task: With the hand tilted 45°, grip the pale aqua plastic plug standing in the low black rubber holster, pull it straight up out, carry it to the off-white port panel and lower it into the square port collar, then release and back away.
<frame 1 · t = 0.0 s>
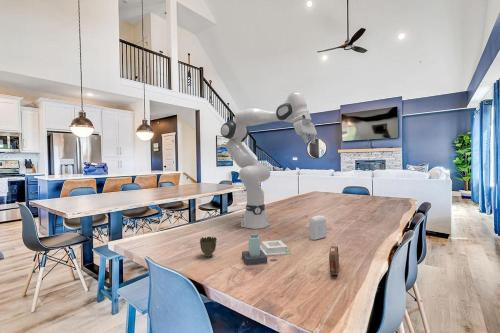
hand: (310, 142, 142), 52 cm above the table, tool tilted 20°, fingers open, 8 cm apart
plug: (254, 247, 111), in the holster
holster: (254, 260, 112), on the table
photo printer: (317, 238, 141), on the table
port: (274, 250, 123), on the table
cup: (208, 256, 116), on the table
tin: (334, 270, 101), on the table
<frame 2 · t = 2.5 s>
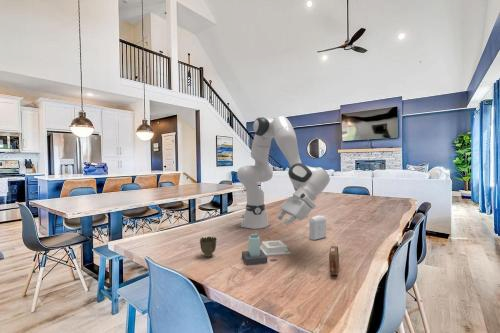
hand: (282, 221, 114), 16 cm above the table, tool tilted 45°, fingers open, 8 cm apart
nothing on the table moved.
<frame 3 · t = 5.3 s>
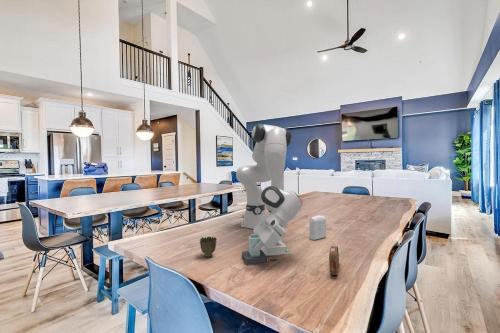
hand: (252, 247, 111), 5 cm above the table, tool tilted 45°, fingers closed on plug, 4 cm apart
plug: (254, 247, 111), in the holster, touching gripper
everything else where it was.
when the fingers open (8 cm above the table, at t = 10.6 s): plug drops 1 cm, resting on port.
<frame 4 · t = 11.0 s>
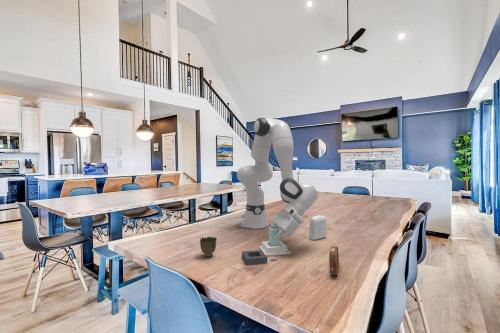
hand: (272, 234, 123), 8 cm above the table, tool tilted 45°, fingers open, 8 cm apart
plug: (274, 237, 123), in the port, point 6 cm above the table
everything else where it was.
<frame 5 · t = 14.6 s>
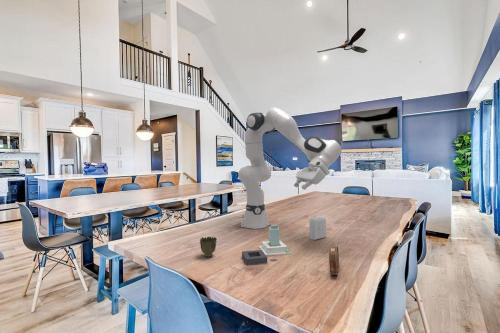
hand: (298, 187, 127), 29 cm above the table, tool tilted 45°, fingers open, 8 cm apart
nothing on the table moved.
at the end: plug 0.1 cm off-centre on the port, point 6.2 cm above the port's base; plug tilted 0°; the gripper is holding nothing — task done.
